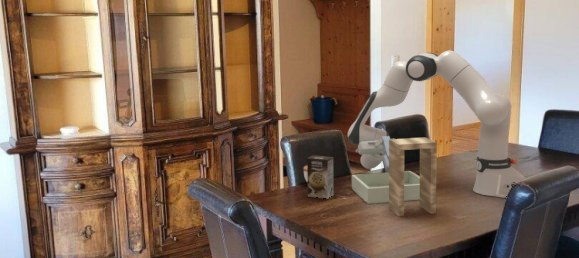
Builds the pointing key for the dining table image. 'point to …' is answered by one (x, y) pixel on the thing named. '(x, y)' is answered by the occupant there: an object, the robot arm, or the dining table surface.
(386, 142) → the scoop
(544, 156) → the dining table surface
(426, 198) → the birch stand
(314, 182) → the cookie box
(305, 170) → the lidded jar
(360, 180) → the pale green tray
